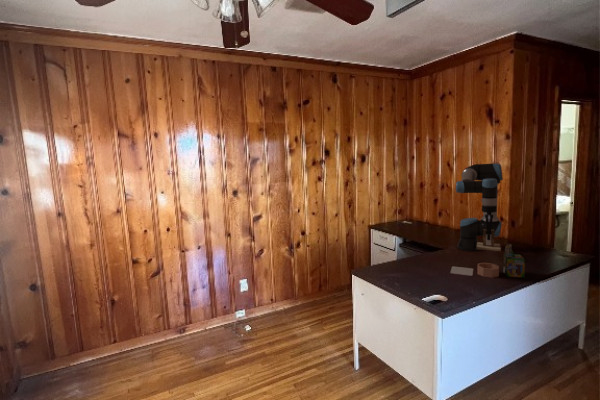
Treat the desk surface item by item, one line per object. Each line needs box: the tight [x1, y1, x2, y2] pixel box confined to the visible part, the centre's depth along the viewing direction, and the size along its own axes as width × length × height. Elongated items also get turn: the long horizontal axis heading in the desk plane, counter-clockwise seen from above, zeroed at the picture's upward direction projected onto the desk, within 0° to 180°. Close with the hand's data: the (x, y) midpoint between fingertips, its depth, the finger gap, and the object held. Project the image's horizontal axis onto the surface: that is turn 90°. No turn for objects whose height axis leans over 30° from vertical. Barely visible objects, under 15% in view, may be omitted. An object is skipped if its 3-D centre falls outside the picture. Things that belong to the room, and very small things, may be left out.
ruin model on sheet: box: [504, 243, 513, 254], centre depth 220 cm, size 11×3×10 cm, turn 140°
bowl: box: [477, 262, 500, 278], centre depth 190 cm, size 11×11×5 cm
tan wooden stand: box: [477, 229, 502, 252], centre depth 188 cm, size 12×12×11 cm
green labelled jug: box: [502, 249, 526, 279], centre depth 187 cm, size 9×9×15 cm
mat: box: [449, 266, 474, 277], centre depth 198 cm, size 13×12×1 cm
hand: (488, 244), depth 188 cm, fingers closed on tan wooden stand, 3 cm apart
